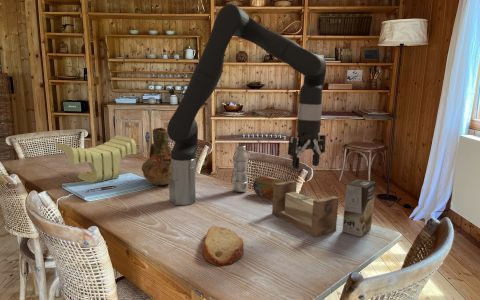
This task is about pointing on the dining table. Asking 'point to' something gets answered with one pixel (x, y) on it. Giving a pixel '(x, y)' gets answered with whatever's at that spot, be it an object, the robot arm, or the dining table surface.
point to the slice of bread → (222, 246)
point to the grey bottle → (240, 169)
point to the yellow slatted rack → (101, 157)
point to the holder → (321, 216)
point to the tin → (265, 186)
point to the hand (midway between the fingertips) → (305, 166)
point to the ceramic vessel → (158, 159)
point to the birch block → (299, 207)
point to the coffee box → (358, 207)
